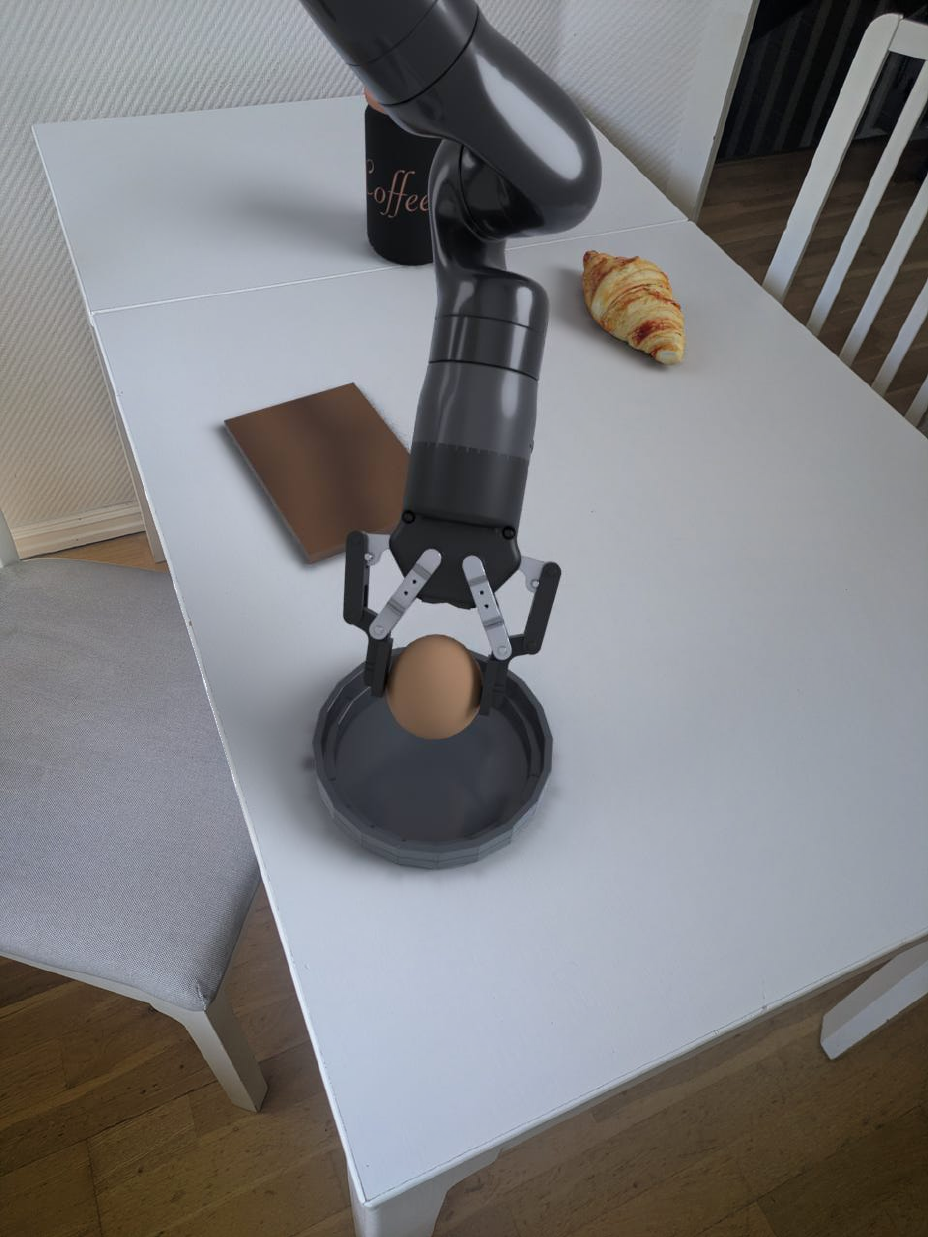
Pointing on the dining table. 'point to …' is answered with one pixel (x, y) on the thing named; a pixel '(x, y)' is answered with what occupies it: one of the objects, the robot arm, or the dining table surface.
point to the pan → (431, 775)
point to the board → (325, 467)
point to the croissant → (634, 304)
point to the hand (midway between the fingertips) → (431, 703)
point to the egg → (434, 687)
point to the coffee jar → (397, 188)
